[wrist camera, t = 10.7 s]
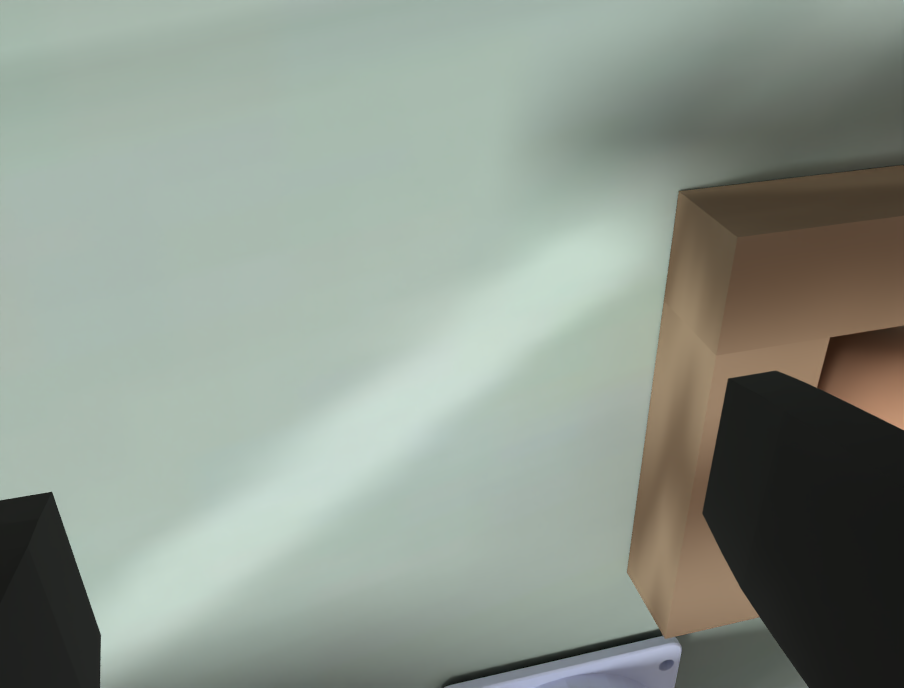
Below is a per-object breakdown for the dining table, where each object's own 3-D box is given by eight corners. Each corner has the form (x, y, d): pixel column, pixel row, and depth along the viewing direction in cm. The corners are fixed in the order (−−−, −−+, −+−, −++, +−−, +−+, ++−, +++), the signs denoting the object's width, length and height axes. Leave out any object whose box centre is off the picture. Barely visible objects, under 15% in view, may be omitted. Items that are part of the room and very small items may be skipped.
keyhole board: (969, 499, 28) (1030, 554, 26) (626, 572, 26) (665, 639, 24) (1115, 140, 22) (1211, 175, 20) (679, 191, 19) (737, 237, 17)
